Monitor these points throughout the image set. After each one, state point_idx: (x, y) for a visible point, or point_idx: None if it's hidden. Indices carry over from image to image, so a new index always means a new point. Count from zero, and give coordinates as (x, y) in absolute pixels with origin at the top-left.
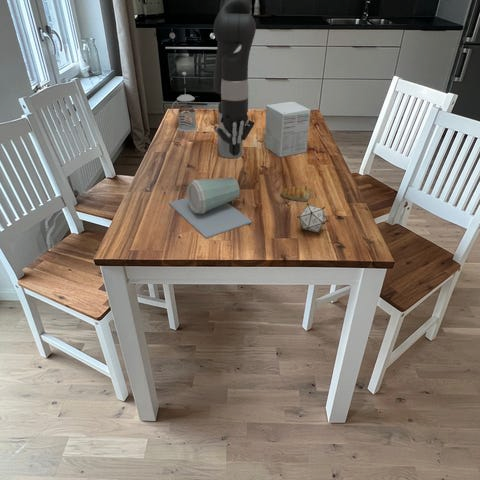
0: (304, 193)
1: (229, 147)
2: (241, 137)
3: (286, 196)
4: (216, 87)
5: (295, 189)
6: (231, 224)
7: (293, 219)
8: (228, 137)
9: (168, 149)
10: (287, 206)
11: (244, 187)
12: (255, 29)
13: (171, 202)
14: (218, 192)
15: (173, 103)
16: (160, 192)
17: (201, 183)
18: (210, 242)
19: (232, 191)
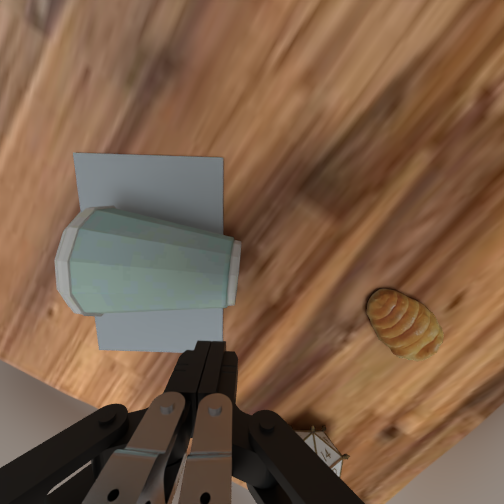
0: (405, 356)
1: (171, 376)
2: (244, 474)
3: (369, 318)
4: None
5: (401, 336)
6: (173, 339)
7: (307, 388)
8: (135, 438)
9: None
10: (339, 342)
11: (322, 195)
12: None
13: (80, 156)
14: (149, 310)
15: None
16: (74, 60)
17: (79, 294)
18: (104, 362)
19: (204, 308)
